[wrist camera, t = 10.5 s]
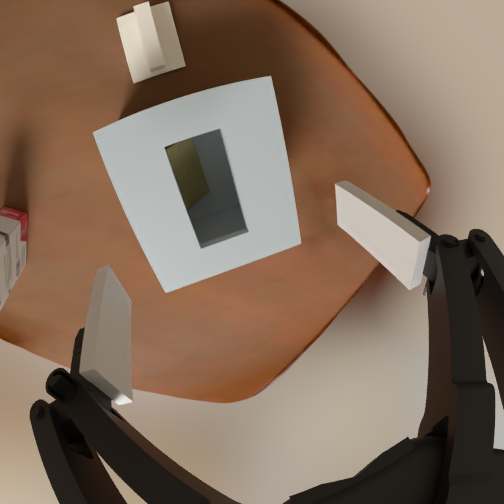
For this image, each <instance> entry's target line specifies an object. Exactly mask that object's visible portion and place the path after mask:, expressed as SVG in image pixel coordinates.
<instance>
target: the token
mask: <svg viewBox="0 0 504 504" xmlns="http://www.w3.org/2000/svg"><path fill="white" fill-rule="evenodd" d="M165 149H166V152H167V155H168V158H169V161H170V164H171V167H172V170H173V173H174V176H175V179H176V181H177V184H178V187H179V190H180V193H181V196H182V198H183V201H184V204H185V207H186V209H187V211H189V210H190V209H191V208H192V207H193V206H194V205H195V204H196V203H197V202H199V201H200V200H201V199H202V198H203V197H204V196H205V195H206V194H208V193H209V192H210V190H209V187H208V184H207V181H206V178H205V175H204V172H203V169H202V166H201V163H200V160H199V157H198V154H197V151H196V148H195V145H194V141H193V138H192V137H191V138H188V139H185V140H182V141H179V142H177V143H174V144H171V145H168V146H165Z"/></svg>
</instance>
